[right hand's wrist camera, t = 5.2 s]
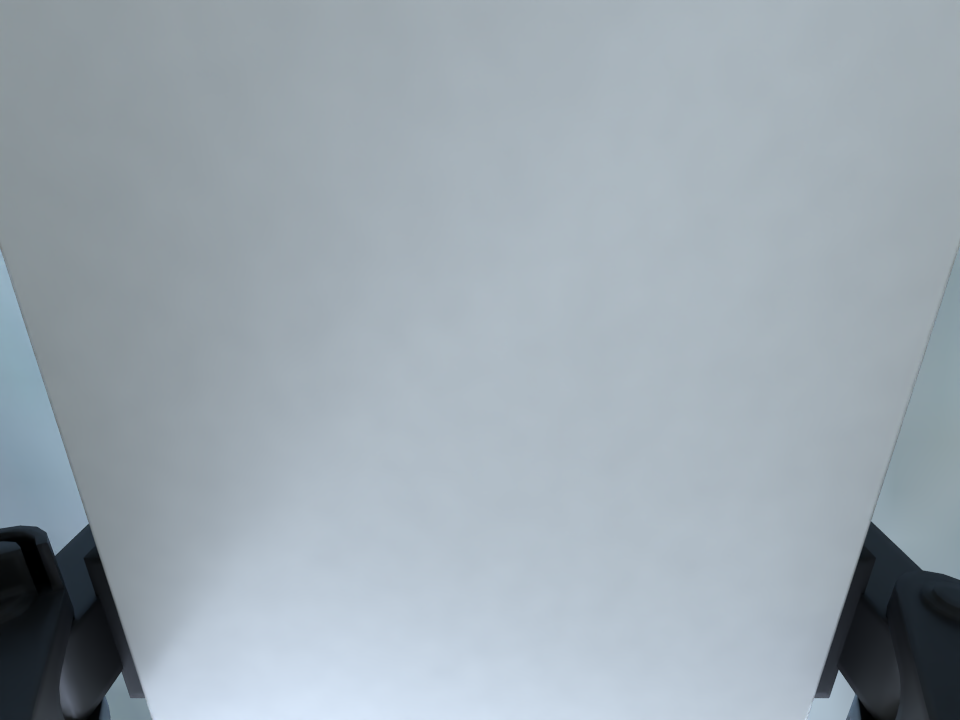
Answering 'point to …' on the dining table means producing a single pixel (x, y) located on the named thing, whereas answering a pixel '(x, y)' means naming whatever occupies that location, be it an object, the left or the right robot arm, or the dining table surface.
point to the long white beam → (479, 336)
